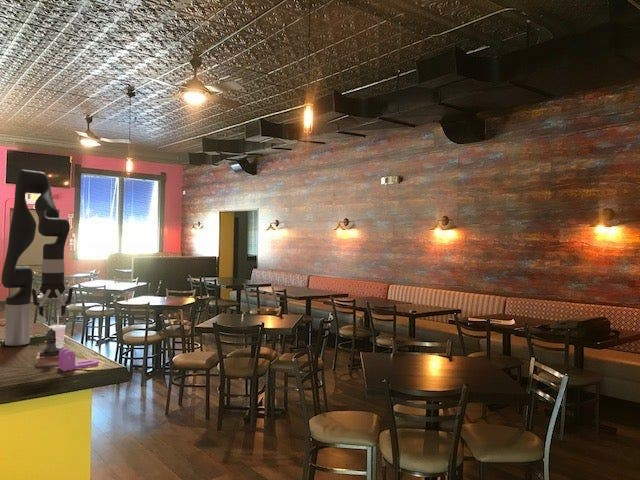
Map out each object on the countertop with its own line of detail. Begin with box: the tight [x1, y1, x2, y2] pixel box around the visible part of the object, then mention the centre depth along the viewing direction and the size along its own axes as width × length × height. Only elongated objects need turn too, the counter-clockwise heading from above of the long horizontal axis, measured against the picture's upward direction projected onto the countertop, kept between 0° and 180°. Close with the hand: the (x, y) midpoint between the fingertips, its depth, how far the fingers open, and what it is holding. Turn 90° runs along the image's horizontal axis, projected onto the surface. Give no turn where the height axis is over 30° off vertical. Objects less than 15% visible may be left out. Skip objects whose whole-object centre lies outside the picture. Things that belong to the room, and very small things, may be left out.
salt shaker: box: [41, 328, 61, 357], centre depth 192 cm, size 6×6×12 cm
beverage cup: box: [49, 313, 67, 349], centre depth 214 cm, size 6×6×14 cm
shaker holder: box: [35, 350, 61, 368], centre depth 192 cm, size 11×10×3 cm
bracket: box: [58, 347, 100, 372], centre depth 187 cm, size 13×6×7 cm, turn 135°
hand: (52, 315), depth 192 cm, fingers open, 6 cm apart
